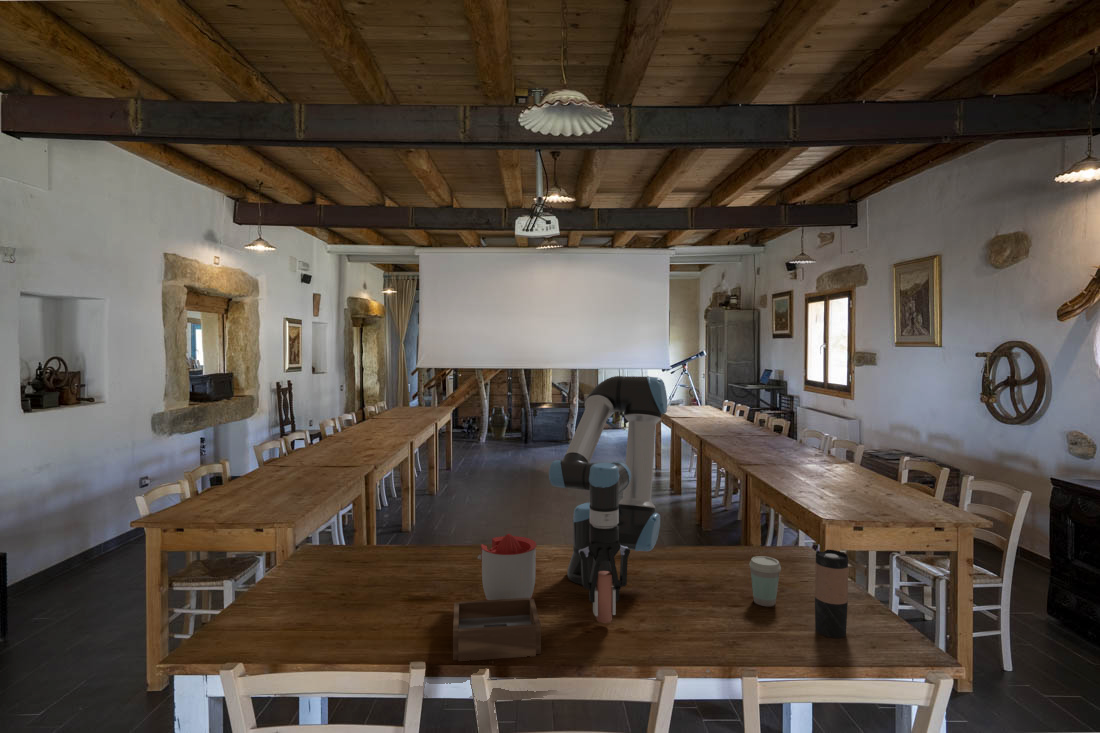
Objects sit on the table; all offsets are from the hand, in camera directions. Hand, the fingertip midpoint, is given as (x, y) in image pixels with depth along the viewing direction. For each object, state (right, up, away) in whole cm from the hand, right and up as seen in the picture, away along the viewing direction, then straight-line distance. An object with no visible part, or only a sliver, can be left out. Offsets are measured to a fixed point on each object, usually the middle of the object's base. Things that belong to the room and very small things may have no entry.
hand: (604, 613), depth 156 cm
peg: (0, -2, 0) cm, 2 cm away
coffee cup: (+47, -3, +15) cm, 50 cm away
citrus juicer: (-26, -3, +14) cm, 30 cm away
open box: (-27, -4, -8) cm, 29 cm away
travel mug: (+58, -4, -2) cm, 58 cm away
